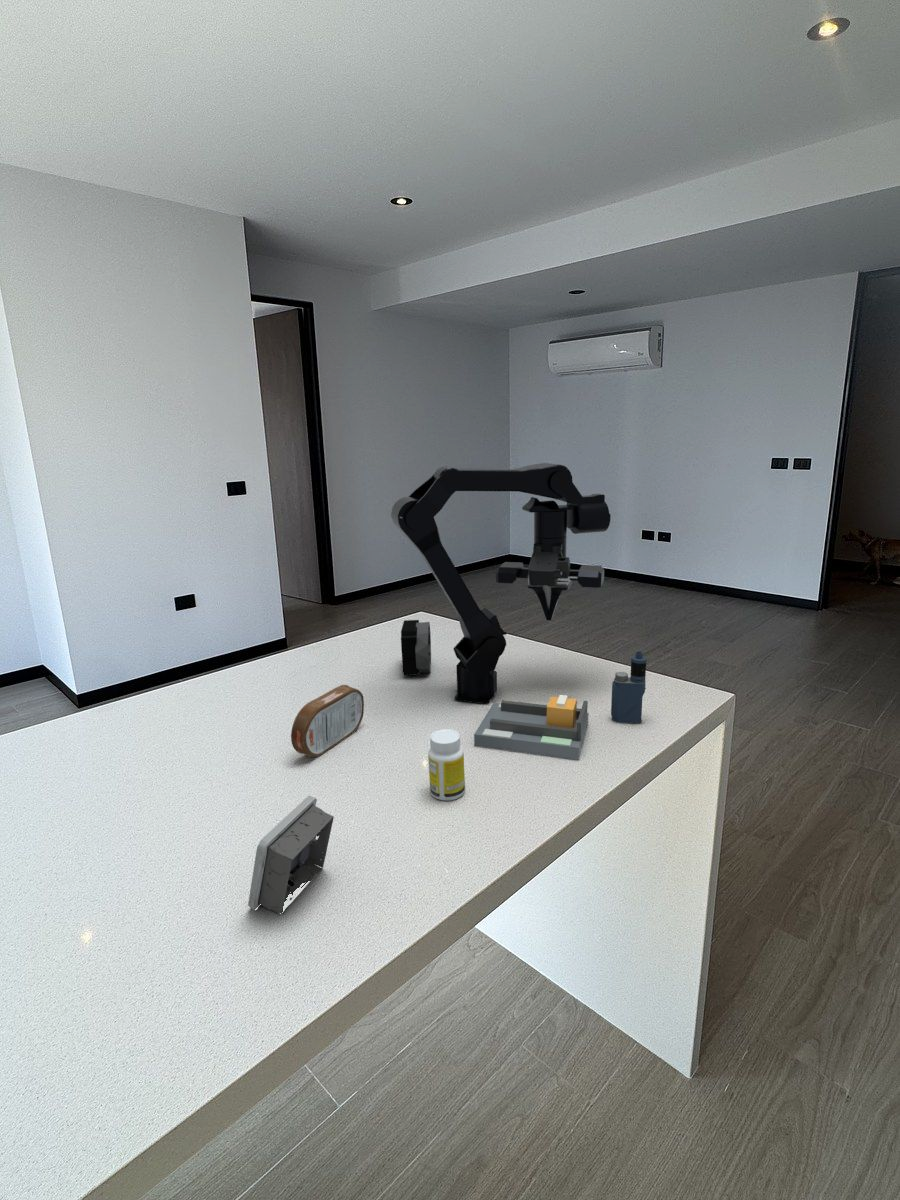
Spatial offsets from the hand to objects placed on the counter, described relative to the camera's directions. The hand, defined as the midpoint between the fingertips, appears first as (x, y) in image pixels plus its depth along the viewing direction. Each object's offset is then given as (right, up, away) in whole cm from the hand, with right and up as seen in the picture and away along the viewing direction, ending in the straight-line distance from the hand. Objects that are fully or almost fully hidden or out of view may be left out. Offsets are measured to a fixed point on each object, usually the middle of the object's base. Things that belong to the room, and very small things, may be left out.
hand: (549, 619), depth 115 cm
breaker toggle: (-1, -16, -17) cm, 23 cm away
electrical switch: (-35, -28, -47) cm, 65 cm away
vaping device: (+11, -16, -11) cm, 23 cm away
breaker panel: (-5, -18, -15) cm, 24 cm away
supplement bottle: (-19, -23, -30) cm, 42 cm away
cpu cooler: (-25, -11, +13) cm, 30 cm away
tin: (-37, -19, -16) cm, 44 cm away
